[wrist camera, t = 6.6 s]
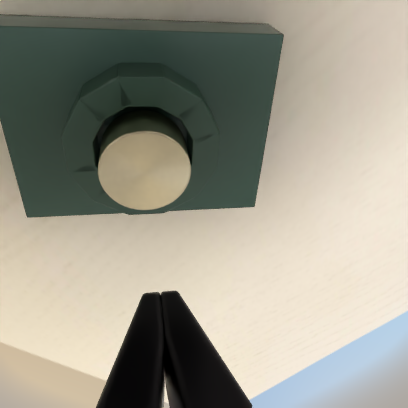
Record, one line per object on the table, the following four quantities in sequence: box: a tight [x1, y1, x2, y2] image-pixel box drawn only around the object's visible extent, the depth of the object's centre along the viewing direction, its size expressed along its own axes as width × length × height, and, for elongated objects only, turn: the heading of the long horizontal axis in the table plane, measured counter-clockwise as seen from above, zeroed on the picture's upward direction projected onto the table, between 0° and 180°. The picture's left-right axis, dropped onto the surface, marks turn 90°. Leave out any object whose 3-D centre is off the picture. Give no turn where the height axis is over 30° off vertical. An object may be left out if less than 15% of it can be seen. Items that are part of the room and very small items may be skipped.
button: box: [98, 110, 191, 210], centre depth 15 cm, size 4×4×2 cm
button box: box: [0, 15, 284, 217], centre depth 18 cm, size 12×9×4 cm
